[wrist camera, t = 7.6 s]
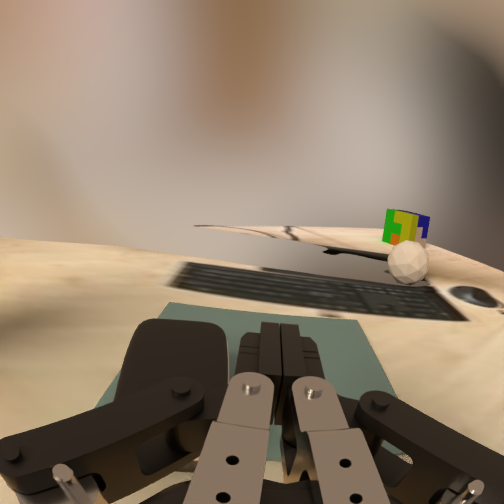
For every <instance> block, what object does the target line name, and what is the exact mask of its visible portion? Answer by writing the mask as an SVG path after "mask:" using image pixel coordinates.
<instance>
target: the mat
mask: <svg viewBox="0 0 504 504" xmlns="http://www.w3.org/2000/svg"><path fill="white" fill-rule="evenodd" d="M157 319H176V320H189V321H202V322H210V323H213V324H216V325H218V326H220V327H221V328H222V329H223V331H224V332H225V335H226V339H227V343H228V353H229V382H230V380H231V378H232V377H234V374H235V368H236V363H237V357H238V351H239V346H240V340H241V337H242V336H243V335H244V334H245V333H247V332H254V333H260V328H261V321H263V322H274V323H279V327H280V323H286V324H298V325H299V331H300V336H302V337H310V338H311V339H312V340H313V341H314V342H315V343H316V344H317V347H318V351H319V352H318V353H319V355H320V359H321V363H322V368H323V372H324V376H325V380H327V381H328V382H330V383H331V384H332V385H333V387H334V389H335V391H336V394H338V395H340V396H343V397H347V398H351V399H356V400H359V399H360V397H361V396H362V395H363V394H364V393H366V392H368V391H374V390H378V391H384V392H387V393H389V394H391V395H393V396H394V397H396V398H397V396H396V394H395V392H394V390H393V388H392V386H391V384H390V382H389V380H388V378H387V376H386V374H385V372H384V370H383V368H382V366H381V364H380V362H379V361H378V359H377V357H376V355H375V353H374V351H373V349H372V347H371V345H370V343H369V342H368V340H367V338H366V336H365V334H364V332H363V330H362V329H361V327H360V325H359V323H358V321H357V320H348V319H331V318H316V317H302V316H290V315H278V314H267V313H257V312H247V311H237V310H228V309H220V308H211V307H203V306H195V305H187V304H180V303H173V302H169V303H168V305H167V306H166V308H165V309H164V310H163V312H162V313H161V314H160V316H159V317H158V318H157ZM120 372H121V370H120ZM120 372H119V373H118V374H117V376H116V377H115V379H114V380H113V382H112V383H111V385H110V386H109V387H108V389H107V390H106V392H105V393H104V395H103V396H102V398H101V399H100V401H99V402H98V404H97V405H96V406H95V408H97V407H100V406H103V405H105V404H108V403H111V402H113V400H114V396H115V392H116V388H117V384H118V380H119V376H120ZM95 408H94V409H95ZM269 429H270V432H269V441H268V448H267V456H266V460H275V461H282V459H281V451H280V437H281V433H282V425H274V419H273V424H272V425H269ZM381 446H382V447H384V448H385V449H387V450H388V451H390V452H391V453H393V454H395V455H400V454H406V453H404V452H402V451H401V450H399V449H398V448H396V447H395V446H393V445H391V444H390V443H388V442H387V441H385V440H384V441H383V443H382V445H381Z"/></svg>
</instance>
